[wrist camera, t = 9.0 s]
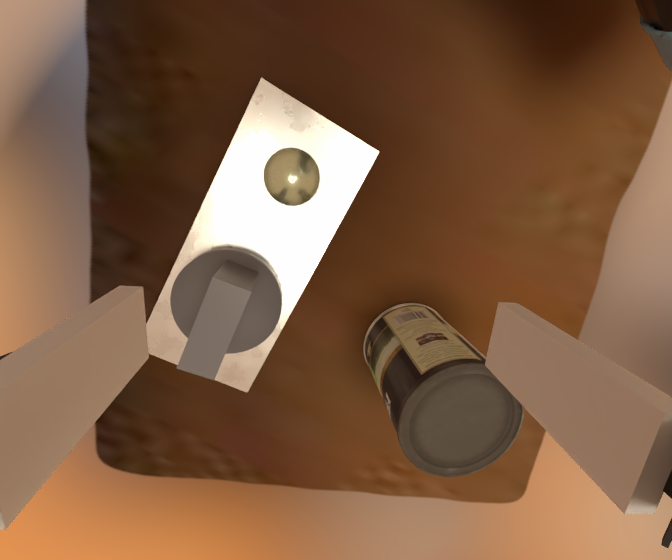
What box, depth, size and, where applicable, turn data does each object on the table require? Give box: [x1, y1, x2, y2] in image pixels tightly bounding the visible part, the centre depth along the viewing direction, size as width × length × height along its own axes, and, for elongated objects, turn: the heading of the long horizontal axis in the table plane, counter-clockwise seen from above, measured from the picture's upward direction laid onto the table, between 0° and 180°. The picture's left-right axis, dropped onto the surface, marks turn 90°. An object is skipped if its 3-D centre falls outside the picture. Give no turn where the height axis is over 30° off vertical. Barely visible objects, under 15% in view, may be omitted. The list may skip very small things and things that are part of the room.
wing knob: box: [170, 248, 282, 380], centre depth 31 cm, size 10×10×8 cm
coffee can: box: [363, 303, 524, 477], centre depth 34 cm, size 10×10×14 cm
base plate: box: [146, 78, 379, 392], centre depth 34 cm, size 28×12×3 cm, turn 151°
